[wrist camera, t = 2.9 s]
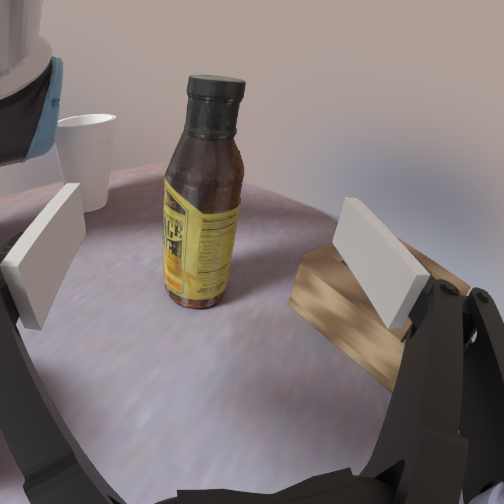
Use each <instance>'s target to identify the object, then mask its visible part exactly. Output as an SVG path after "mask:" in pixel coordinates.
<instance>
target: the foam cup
mask: <svg viewBox="0 0 504 504" xmlns="http://www.w3.org/2000/svg"><path fill="white" fill-rule="evenodd" d="M116 120H117V118H116V117H115V116H114V115H107V114H91V115H81V116H75V117H70V118H66V119H62V120H59V121H58V123H57V130H56V136H55V140H54V143H55V144H56V150H57V155H58V161H59V165H60V170H61V175H62V179H63V184H64V186H65V185H66V184H67V183H81V192H82V202H83V212H84V213H85V212H92V211H95V210H98V209H101V208H102V207H104V206H105V205H106V203H107V198H108V189H109V177H110V167H111V158H112V150H113V143H114V135H115V134H116V122H117V121H116Z"/></svg>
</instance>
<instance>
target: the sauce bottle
mask: <svg viewBox="0 0 504 504" xmlns="http://www.w3.org/2000/svg"><path fill="white" fill-rule="evenodd" d="M245 83H246V82H245V81H244V80H240V79H235V78H229V77H221V76H212V75H191V76H190V77H189V81H188V86H187V94H188V98H189V99H188V104H187V115H186V123H185V126H184V131H183V133H182V136H181V138H180V140H179V142H178V145H177V147H176V149H175V151H174V154H173V156H172V159H171V161H170V163H169V166H168V168H167V171H166V173H165V181H164V209H163V275H164V282H165V288H166V291H167V293H168V295H169V296H170V297H171V299H173V300H174V302H175V303H177V304H178V305H181V306H184V307H189V308H195V309H197V308H206V307H209V306H211V305H214V304H215V303H217V302H219V301H220V300H221V299H222V297H223V295H224V292H225V288H226V286H227V283H228V277H229V270H230V264H231V258H232V252H233V246H234V239H235V233H236V227H237V221H238V215H239V209H240V203H241V198H240V194H241V188H242V182H243V177H244V165H243V162H242V158H241V155H240V151H239V150H238V148H237V146H236V144H235V141H234V136H235V135H236V133H237V129H236V123H237V117H238V110H239V105H240V102H241V101H242V99H243V97H244V91H245Z"/></svg>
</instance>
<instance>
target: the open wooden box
mask: <svg viewBox="0 0 504 504" xmlns="http://www.w3.org/2000/svg"><path fill="white" fill-rule="evenodd" d="M398 240H399V241H400V242H401V243H402V244H403V245H404V246H405V247H406V248H407V249H409V250H410V251H411V252H412V253H413V254H414V255H415V256H416V257H417V259H419V261H420V262H421V264H423V265H424V266H425V267H426V268H427V270H428V271H429V272H430V273H431V274H432V275H433V276H434V278H435V279H436V280H437V279H443V280H446V281H449V282H450V283H452V284H453V285H454V286H456V287H457V289H458V290H459V291H460V294H461V295H465V296H466V295H467V293H468V291H469V289H470V286H469V285H468V284H466V283H465V282H463V281H462V280H460V279H459V278H458V277H456V276H455V275H453V274H452V273H450V272H449V271H448V270H446V269H445V268H443V267H442V266H440V265H439V264H437V263H436V262H434V261H433V260H431V259H430V258H428V257H427V256H425V255H423V254H422V253H420V252H419V251H417V250H416V249H414V248H413V247H411V246H409V245H408V244H406V243H405V242H403V241H402V240H400V239H398ZM288 305H289V306H291V307H292V308H293V309H294V310H295V311H296V312H298V313H299V314H300V315H301V316H302V317H303V318H305V319H306V320H307V321H308V322H309V323H310V324H312V325H313V326H314V327H315V328H316V329H317V330H319V331H320V332H321V333H322V334H323V335H325V336H326V337H327V338H328V339H329V340H330V341H332V342H333V343H334V344H335V345H336V346H337V347H339V348H340V349H341V350H342V351H343V352H345V353H346V354H347V355H348V356H349V357H351V358H352V359H353V360H354V361H355V362H356V363H358V364H359V365H360V366H361V367H362V368H364V369H365V370H366V371H367V372H368V373H370V374H371V375H372V376H373V377H374V378H376V379H377V380H378V381H379V382H380V383H382V384H383V385H384V386H385V387H386V388H388V389H389V390H390V391H391V392H392V393H393V390H394V387H395V383H396V379H397V376H398V372H399V368H400V364H401V360H402V355H403V351H404V346H405V342H406V340H404V341H403V343H402V342H400V341H401V340H402V338H403V336H404V335H405V333H406V332H407V330H408V328H409V327H410V325H411V323H412V321H411V320H410V318H409V317H407V319H406V321H405V323H404V324H403V326H402V327H401V328H394V329H387V327H386V326H385V324H384V322H383V321H382V319H381V317H380V316H379V314H378V312H377V311H376V309H375V308H374V306H373V304H372V303H371V301H370V300H369V298H368V296H367V295H366V293H365V292H364V290H363V288H362V287H361V285H360V284H359V282H358V281H357V279H356V278H355V276H354V274H353V273H352V271H351V270H350V268H349V267H348V265H347V264H346V262H345V261H344V259H343V258H342V256H341V255H340V253H339V252H338V250H337V249H336V247H335V246H334V244H333V243H331V244H328V245H326V246H323V247H321V248H318V249H316V250H313V251H310V252H308V253H305V254H303V255H302V258H301V261H300V265H299V268H298V271H297V275H296V278H295V282H294V285H293V288H292V292H291V295H290V298H289V302H288Z"/></svg>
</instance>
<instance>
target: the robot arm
mask: <svg viewBox="0 0 504 504" xmlns="http://www.w3.org/2000/svg"><path fill="white" fill-rule="evenodd" d="M42 2H43V0H0V167H1V166H6V165H10V164H15V163H19V162H21V163H22V162H25V161H26V160H28V159H31V158H35V157H38V156H42V155H44V154H46V153H47V152H48V151H49V150H50V149H51V148H52V146H53V144H54V140H55V136H56V130H57V123H58V116H59V101H60V95H61V89H62V78H63V61H62V59H61V58H56V57H51V52H52V51H51V47H50V44H49V43H48V42H47V41H46V40H45V39H44V38H42V37H40V36H39V27H40V18H41V10H42ZM85 235H86V227H85V220H84V212H83V202H82V192H81V183H67V184H66V185H65V186H64V187H63V188H62V189H61V190H60V191H59V192H58V193H57V194H56V195H55V197H54V198H53V199H52V200H51V201H50V202H49V203H48V204H47V206H46V207H45V208H44V209H43V210H42V211H41V212H40V214H39V215H38V216H37V217H36V218H35V220H34V221H33V222H32V223H31V224H30V226H29V227H28V228H27V229H26V231H25V232H20V233H19V234H18V235H16V236H15V237H13V238H12V239H11V241H10V242H9V243H8V245H7V247H5V248H4V250H3V251H2V253H1V254H0V427H1V430H2V432H3V434H4V437H5V439H6V441H7V443H8V446H9V448H10V450H11V452H12V454H13V456H14V458H15V460H16V462H17V464H18V466H19V468H20V470H21V472H22V474H23V476H24V478H25V483H24V485H23V488H24V492H25V494H26V496H27V498H28V500H29V502H30V503H31V504H126V503H125V501H124V500H123V499H122V498H121V497H120V496H119V495H118V494H117V493H116V492H115V491H114V490H113V489H112V488H111V487H110V485H109V484H108V483H107V482H106V481H105V480H104V478H103V477H102V476H101V474H100V473H99V472H98V471H97V469H96V468H95V467H94V465H93V464H92V463H91V461H90V460H89V458H88V457H87V456H86V454H85V453H84V451H83V450H82V449H81V447H80V446H79V444H78V443H77V441H76V440H75V438H74V437H73V435H72V434H71V432H70V431H69V429H68V427H67V426H66V424H65V423H64V421H63V419H62V418H61V416H60V414H59V413H58V411H57V409H56V407H55V406H54V404H53V402H52V400H51V399H50V397H49V395H48V393H47V391H46V389H45V387H44V385H43V384H42V382H41V380H40V378H39V376H38V374H37V371H36V369H35V367H34V365H33V363H32V361H31V359H30V357H29V354H28V352H27V350H26V347H25V345H24V343H23V340H22V338H21V335H20V333H19V331H18V328H17V326H16V323H17V320H18V318H19V317H20V319H21V321H22V323H23V326H24V328H28V329H35V330H42V328H43V325H44V322H45V320H46V317H47V315H48V313H49V310H50V308H51V305H52V303H53V301H54V299H55V296H56V294H57V292H58V290H59V287H60V285H61V283H62V281H63V279H64V277H65V274H66V272H67V270H68V268H69V266H70V264H71V262H72V260H73V258H74V256H75V254H76V252H77V250H78V248H79V246H80V245H81V243H82V241H83V239H84V237H85ZM332 243H333V244H334V246H335V247H336V249H337V250H338V252H339V253H340V255H341V256H342V258H343V259H344V261H345V262H346V264H347V265H348V267H349V268H350V270H351V271H352V273H353V274H354V276H355V278H356V279H357V281H358V282H359V284H360V285H361V287H362V288H363V290H364V292H365V293H366V295H367V296H368V298H369V300H370V301H371V303H372V304H373V306H374V308H375V309H376V311H377V312H378V314H379V316H380V317H381V319H382V321H383V322H384V324H385V326H386V327H387V329H394V328H401V327H402V326H403V324H404V323H405V321H406V319H407V317H409V318H410V320H411V321H412V323H411V325H410V327H409V328H408V330H407V332H406V333H405V335H404V336H403V338H402V340H401V341H400V342H402V343H403V341H404V340H406V342H405V346H404V351H403V355H402V360H401V364H400V368H399V372H398V376H397V379H396V383H395V387H394V390H393V394H392V397H391V401H390V404H389V407H388V411H387V414H386V417H385V420H384V423H383V426H382V429H381V432H380V435H379V438H378V440H377V443H376V446H375V449H374V451H373V454H372V457H371V459H370V461H369V462H368V464H367V465H366V467H365V468H364V469H363V471H362V472H361V473H360V475H359V476H357V475H352V472H351V469H350V468H346V469H342V470H338V471H334V472H330V473H326V474H322V475H318V476H313V477H311V478H309V479H306V480H304V481H302V482H300V483H298V484H295V485H293V486H291V487H289V488H286V489H284V490H282V491H279V492H277V493H274V494H259V493H250V492H241V491H234V490H227V489H209V490H177V497H173V498H169V499H166V500H163V501H160V502H157V503H155V504H458V503H459V499H460V494H461V490H462V492H463V500H464V504H504V323H503V320H502V318H501V316H500V314H499V312H498V309H497V307H496V305H495V303H494V301H493V299H492V297H491V296H490V295H489V294H488V292H486V291H485V290H483V289H480V288H473V289H472V290H471V292H470V294H469V296H465V295H461V294H460V291H459V290H458V289H457V287H456V286H454V285H453V284H452V283H450V282H449V281H446V280H443V279H437V280H436V279H435V278H434V276H433V275H432V274H431V273H430V272H429V271H428V270H427V268H426V267H425V266H424V265H423V264H421V262H420V261H419V259H417V257H416V256H415V255H414V254H413V253H412V252H411V251H410V250H409V249H407V248H406V247H405V246H404V245H403V244H402V243H401V242H400V241H399V240H398V238H396V236H395V235H393V233H392V232H391V231H390V230H389V229H388V228H387V227H386V226H385V225H384V224H383V223H382V222H381V221H380V220H379V219H378V218H377V217H376V216H375V215H374V214H373V213H372V212H371V211H370V210H369V209H368V208H367V207H366V206H365V205H364V204H363V203H362V202H361V201H360V200H359V199H357V198H349V197H345V200H344V204H343V207H342V211H341V214H340V217H339V221H338V224H337V228H336V231H335V234H334V237H333V241H332ZM476 331H477V337H476V339H475V341H474V342H473V343H472V340H471V338H472V337H473V335H474V334H475V333H476ZM458 430H459V435H458Z"/></svg>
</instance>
